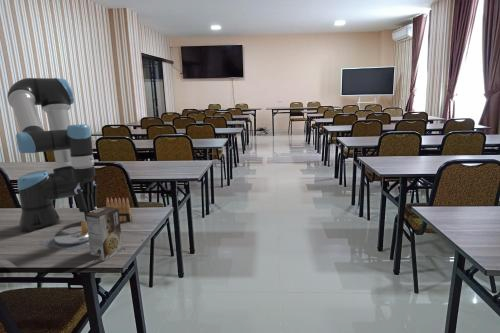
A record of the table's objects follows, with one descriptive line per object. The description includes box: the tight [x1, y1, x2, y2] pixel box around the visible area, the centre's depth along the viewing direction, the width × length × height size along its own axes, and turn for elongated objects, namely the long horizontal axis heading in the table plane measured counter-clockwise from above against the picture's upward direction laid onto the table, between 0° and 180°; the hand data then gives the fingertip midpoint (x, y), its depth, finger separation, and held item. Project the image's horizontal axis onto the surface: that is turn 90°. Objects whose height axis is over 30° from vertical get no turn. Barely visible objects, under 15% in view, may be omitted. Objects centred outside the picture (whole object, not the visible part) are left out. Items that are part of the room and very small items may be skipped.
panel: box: [38, 237, 90, 252], centre depth 131 cm, size 18×17×2 cm
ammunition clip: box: [106, 197, 133, 224], centre depth 148 cm, size 11×2×12 cm, turn 85°
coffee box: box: [86, 205, 124, 262], centre depth 119 cm, size 9×6×16 cm
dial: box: [53, 220, 89, 246], centre depth 130 cm, size 14×14×6 cm
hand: (90, 227), depth 130 cm, fingers closed
